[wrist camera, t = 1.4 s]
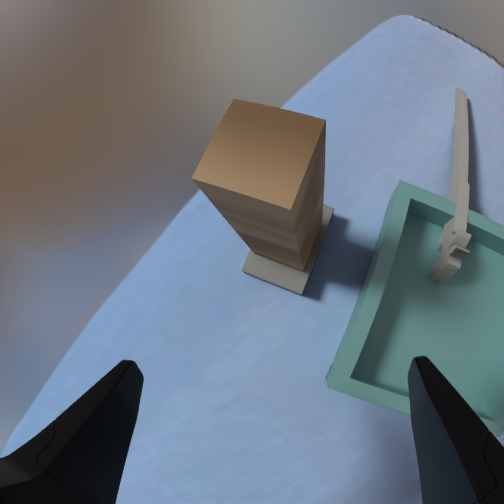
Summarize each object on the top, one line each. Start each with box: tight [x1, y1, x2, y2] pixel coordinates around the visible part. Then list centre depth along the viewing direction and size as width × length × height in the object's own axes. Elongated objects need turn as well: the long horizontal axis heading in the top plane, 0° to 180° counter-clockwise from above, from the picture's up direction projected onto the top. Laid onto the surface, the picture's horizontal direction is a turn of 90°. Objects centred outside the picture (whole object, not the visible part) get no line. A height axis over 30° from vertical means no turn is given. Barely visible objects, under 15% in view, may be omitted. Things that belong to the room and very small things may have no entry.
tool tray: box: [326, 180, 504, 437], centre depth 18 cm, size 14×14×4 cm
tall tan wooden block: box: [192, 99, 334, 296], centre depth 17 cm, size 6×4×14 cm
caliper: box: [429, 88, 472, 283], centre depth 20 cm, size 20×1×6 cm, turn 158°
